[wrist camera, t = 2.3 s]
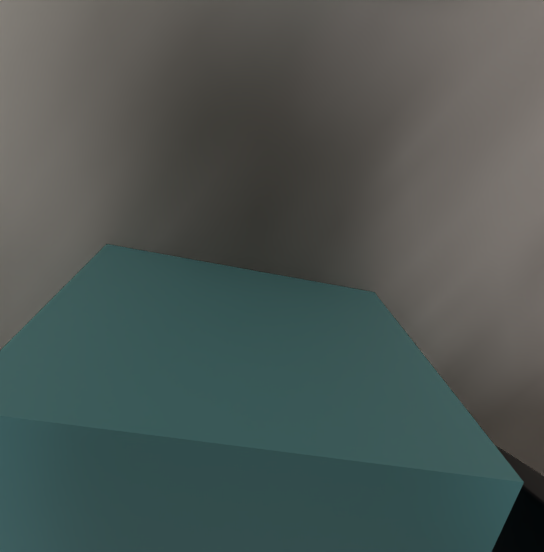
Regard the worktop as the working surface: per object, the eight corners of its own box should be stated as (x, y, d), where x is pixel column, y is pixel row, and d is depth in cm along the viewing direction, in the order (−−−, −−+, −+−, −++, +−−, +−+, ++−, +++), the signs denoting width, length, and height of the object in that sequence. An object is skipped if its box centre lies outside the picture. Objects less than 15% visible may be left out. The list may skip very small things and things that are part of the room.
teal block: (372, 291, 9) (523, 482, 4) (312, 494, 11) (374, 801, 6) (107, 242, 8) (-59, 408, 4) (82, 468, 10) (-56, 793, 5)
